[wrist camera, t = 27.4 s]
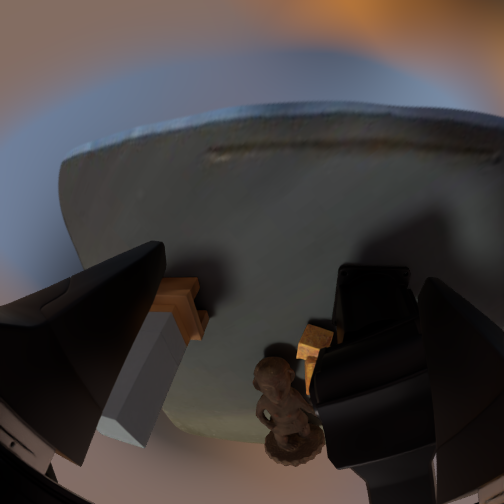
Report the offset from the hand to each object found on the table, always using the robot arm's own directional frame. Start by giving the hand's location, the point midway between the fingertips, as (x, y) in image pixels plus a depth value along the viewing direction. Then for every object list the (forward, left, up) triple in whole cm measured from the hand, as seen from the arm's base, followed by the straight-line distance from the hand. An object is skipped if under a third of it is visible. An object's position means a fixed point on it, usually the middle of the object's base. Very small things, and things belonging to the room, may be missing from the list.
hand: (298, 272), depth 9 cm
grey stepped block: (-14, -13, -10) cm, 22 cm away
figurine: (+1, -38, -9) cm, 39 cm away
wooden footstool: (-14, -13, -13) cm, 23 cm away
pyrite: (+5, -16, -11) cm, 20 cm away
